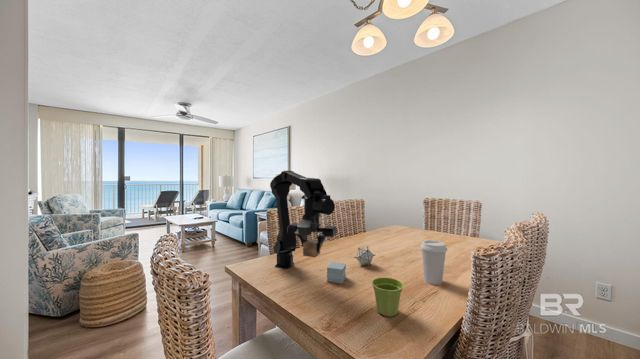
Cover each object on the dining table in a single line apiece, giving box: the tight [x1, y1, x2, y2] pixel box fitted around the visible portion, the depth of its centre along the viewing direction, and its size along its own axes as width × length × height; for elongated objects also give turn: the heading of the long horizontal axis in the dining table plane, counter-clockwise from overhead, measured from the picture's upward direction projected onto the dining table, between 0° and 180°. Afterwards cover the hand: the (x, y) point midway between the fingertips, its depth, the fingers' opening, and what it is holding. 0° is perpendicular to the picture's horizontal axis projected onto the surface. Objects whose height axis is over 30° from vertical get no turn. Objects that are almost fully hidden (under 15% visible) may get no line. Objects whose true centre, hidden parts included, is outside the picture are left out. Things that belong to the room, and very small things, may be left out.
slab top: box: [326, 261, 347, 275], centre depth 100 cm, size 6×6×2 cm
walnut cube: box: [302, 238, 321, 258], centre depth 97 cm, size 5×5×5 cm
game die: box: [353, 246, 376, 267], centre depth 115 cm, size 9×8×10 cm
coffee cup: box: [419, 239, 448, 286], centre depth 98 cm, size 10×10×15 cm
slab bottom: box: [326, 273, 347, 284], centre depth 100 cm, size 6×6×2 cm
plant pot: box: [371, 276, 404, 317], centre depth 77 cm, size 9×9×9 cm
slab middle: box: [326, 270, 346, 280], centre depth 100 cm, size 6×6×2 cm
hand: (311, 251), depth 97 cm, fingers closed on walnut cube, 5 cm apart
